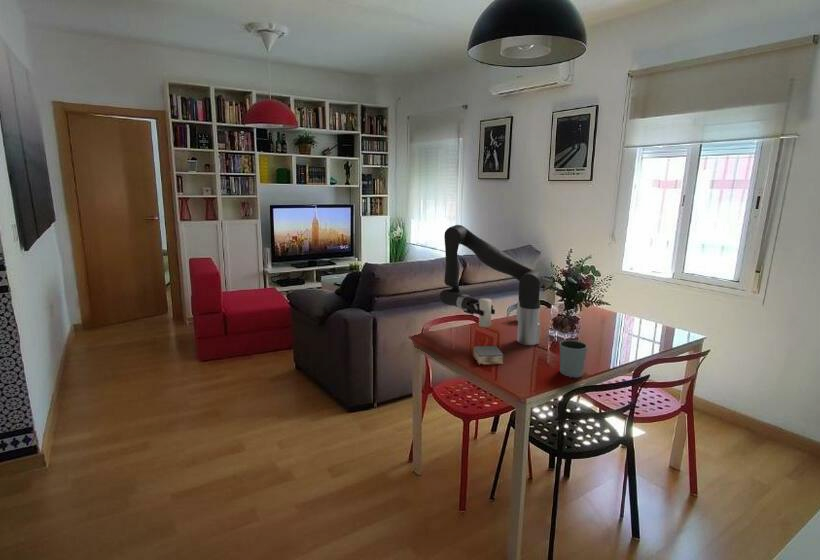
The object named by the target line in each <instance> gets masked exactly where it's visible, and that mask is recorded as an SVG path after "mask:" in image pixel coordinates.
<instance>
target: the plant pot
mask: <svg viewBox="0 0 820 560" xmlns="http://www.w3.org/2000/svg"><path fill="white" fill-rule="evenodd" d="M587 350H588V344H586V343H585V342H582V341H579V340H575V339H574V340H573V339H566V340H561V341H560V342H559V366H560V367H559V373H560V374H561V375H562V374H563V375H562V376H564V375H565V377H567V376H569V377H568V378H572V377H574V378H575V379H576V378H581V377H582V376H583V375H584V370H585V369H584V368H585V363H586V357H587Z"/></svg>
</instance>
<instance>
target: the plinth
mask: <svg viewBox="0 0 820 560" xmlns="http://www.w3.org/2000/svg"><path fill="white" fill-rule="evenodd" d="M472 352H473V353H472V354H473V355H472V356H473V357H474V359H475V360H477V361H476V362H477V363H478V365H479V366H481V365H480V364H483V365H503V364H504V353H502V351H501V350H500V349H499V347H498V346H497V345H487V346H485V345H484V346H483V345H481V346H473V351H472Z"/></svg>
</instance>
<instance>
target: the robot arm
mask: <svg viewBox="0 0 820 560" xmlns="http://www.w3.org/2000/svg"><path fill="white" fill-rule="evenodd" d="M443 239H444V249H445V250H444V251H445V254H444V255H445V269H444V270H445V271H444V280H443V281H444V284H445V285H446V286H447V287H451V288H449V289H448V288H447V289H443V290H441V291H440V292H439V294H438V295H439V297H438V298H439V300H440V301H441V303H442V304H444V305H449V306H453V307H456V308H458V309H460V310H462V311H463V313H466V314H469V315H474V314H475V315H478V316H479V315H481V316H484V311H482V310H480V309H479V305H480V300H478V299H477V298H476V297H473V296H470V295H468V294H464V293H463V292H462V293H461V290H460V284H459V279H460V264H459V259H458V252H459V247H460V245H462V246H464V247H466V248H468V249H469V250H470V251H472V252H473V254H474V255H475V256H476V257H477V259H479V261H481V263H483V264H484V265H485V266H487V267H488V268H490V269H493V270H494V271H496V272H499V273H502V274H505V275H508V276H511V277H512V278H514V279H515V280H517V281H519V284H518V300H519V319H518V321H517V336H516V337H517V338H516V342H517V343H518V344H521V345H525V346H535V345H539V344H540V338H541V337H540V336H541V335H540V334H541V324H540V313H541V312H540V311H541V300H540V290H541V288H542V287H543V285H544V278H543V276H542V275H541V273H540V272H539V271H537V270H535V269H532V268H530V267H528V266H526V265H524V264H523V263H520V262H519V261H517V260H515V259H514V258H513V257H511V256H510V255H508V254H506V253H505V251H502V250H500V249H499V248H497V247H496V246H494V245H492V244H490V243H488V242H487V241H485V240H483V239H482V238H480V237H479V236H477V235H475V234H474V233H473V232H472V231H470V230H469V229H468V228H467V227H465V226H464V225H462V224H461V225H460V224H456V225H452V226H450V227H448V228H447V229H446V230H445V232H444V238H443ZM495 311H496V310H495V309H494V306H493V305H492V304H491V315H495V314H496V312H495Z"/></svg>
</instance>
